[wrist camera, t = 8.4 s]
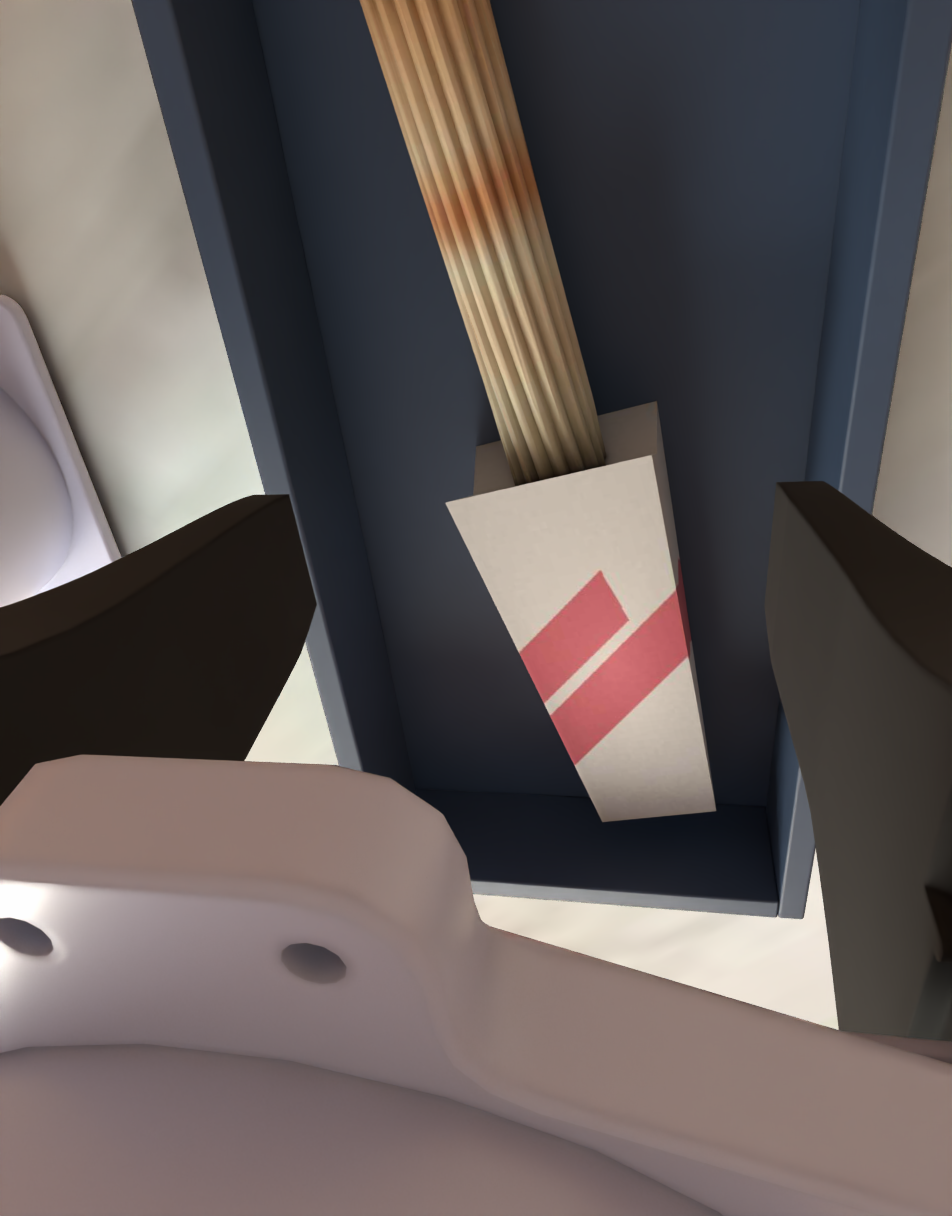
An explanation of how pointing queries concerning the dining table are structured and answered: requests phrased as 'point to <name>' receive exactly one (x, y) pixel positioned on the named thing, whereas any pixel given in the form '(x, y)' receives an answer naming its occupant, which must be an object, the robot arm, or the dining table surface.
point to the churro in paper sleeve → (550, 437)
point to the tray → (613, 358)
